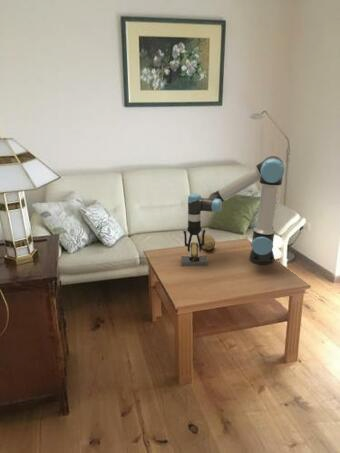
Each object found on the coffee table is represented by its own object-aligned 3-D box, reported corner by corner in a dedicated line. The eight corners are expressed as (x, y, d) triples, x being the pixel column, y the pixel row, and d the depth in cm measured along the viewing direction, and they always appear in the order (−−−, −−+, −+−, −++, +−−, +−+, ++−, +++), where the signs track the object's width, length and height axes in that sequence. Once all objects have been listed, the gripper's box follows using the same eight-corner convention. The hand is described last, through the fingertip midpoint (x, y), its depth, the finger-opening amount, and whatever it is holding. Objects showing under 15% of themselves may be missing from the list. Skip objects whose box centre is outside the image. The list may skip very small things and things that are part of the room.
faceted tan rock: (200, 245, 252) (191, 242, 243) (208, 232, 250) (199, 228, 241) (215, 256, 243) (206, 254, 234) (224, 243, 241) (215, 239, 232)
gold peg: (197, 258, 225) (197, 241, 222) (198, 261, 221) (198, 244, 218) (190, 258, 225) (190, 242, 222) (190, 261, 221) (190, 244, 218)
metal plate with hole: (206, 259, 228) (206, 255, 227) (208, 265, 219) (208, 261, 219) (181, 259, 228) (181, 256, 227) (181, 265, 220) (181, 262, 219)
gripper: (208, 217, 218) (207, 253, 226) (179, 218, 219) (180, 254, 226) (209, 221, 211) (209, 258, 219) (179, 222, 212) (180, 258, 219)
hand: (194, 256), depth 222 cm, fingers closed on gold peg, 4 cm apart
